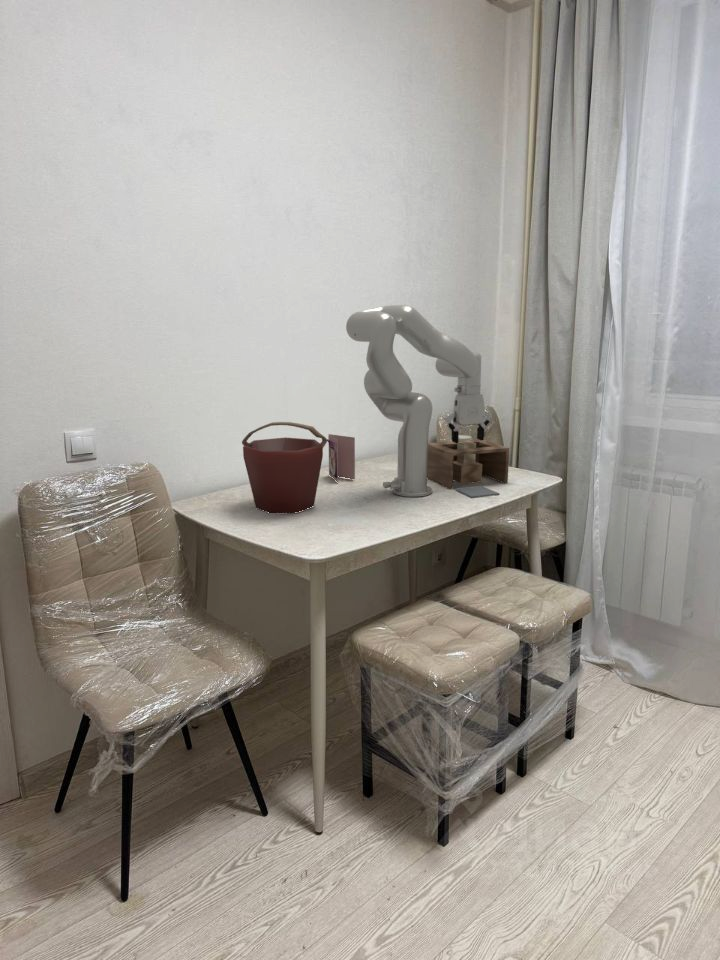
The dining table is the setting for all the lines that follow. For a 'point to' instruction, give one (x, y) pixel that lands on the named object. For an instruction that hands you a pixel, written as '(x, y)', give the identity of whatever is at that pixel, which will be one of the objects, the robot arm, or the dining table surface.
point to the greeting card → (341, 456)
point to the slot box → (487, 462)
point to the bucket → (284, 470)
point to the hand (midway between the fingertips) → (467, 441)
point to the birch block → (466, 458)
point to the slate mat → (477, 492)
